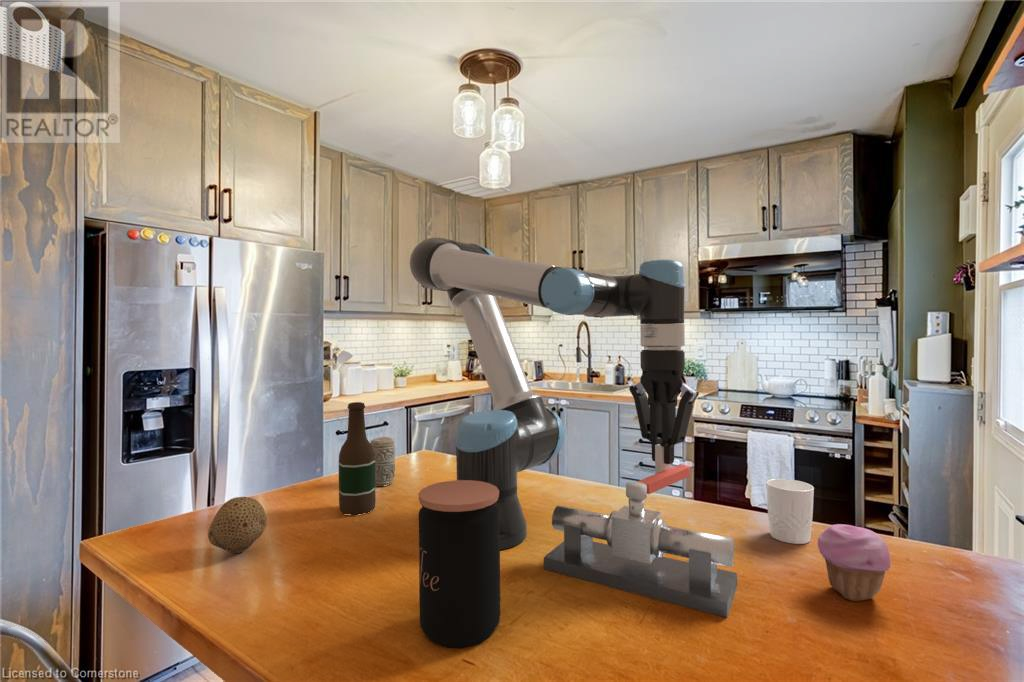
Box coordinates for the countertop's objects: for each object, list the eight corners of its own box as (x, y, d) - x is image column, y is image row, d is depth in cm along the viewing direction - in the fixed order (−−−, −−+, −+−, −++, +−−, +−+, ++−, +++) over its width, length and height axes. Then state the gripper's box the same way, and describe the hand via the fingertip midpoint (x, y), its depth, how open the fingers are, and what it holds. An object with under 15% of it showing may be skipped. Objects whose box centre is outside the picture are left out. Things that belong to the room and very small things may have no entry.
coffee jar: (423, 607, 71) (422, 481, 71) (498, 602, 72) (497, 478, 72) (415, 654, 60) (413, 506, 60) (503, 649, 61) (501, 503, 61)
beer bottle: (382, 508, 112) (381, 402, 112) (355, 519, 106) (354, 406, 106) (359, 502, 117) (358, 399, 116) (331, 512, 110) (330, 403, 110)
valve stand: (544, 569, 82) (543, 493, 82) (569, 547, 91) (569, 478, 91) (727, 617, 68) (726, 525, 68) (737, 586, 76) (736, 504, 76)
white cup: (821, 547, 90) (821, 492, 90) (773, 544, 91) (773, 489, 91) (804, 530, 97) (804, 479, 97) (761, 527, 99) (761, 477, 99)
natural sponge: (275, 552, 90) (274, 497, 90) (220, 569, 83) (219, 510, 83) (256, 538, 96) (255, 487, 96) (203, 553, 89) (203, 498, 89)
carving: (382, 489, 126) (382, 442, 126) (362, 485, 130) (362, 439, 130) (401, 483, 131) (400, 438, 131) (381, 479, 136) (380, 435, 136)
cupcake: (806, 579, 78) (806, 515, 78) (863, 579, 78) (863, 515, 78) (842, 610, 69) (842, 538, 69) (906, 611, 69) (906, 539, 69)
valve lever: (640, 500, 77) (639, 489, 77) (622, 496, 79) (622, 485, 79) (694, 476, 90) (694, 466, 90) (677, 472, 92) (677, 463, 92)
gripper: (619, 348, 91) (620, 477, 91) (683, 349, 81) (683, 494, 81) (644, 347, 96) (645, 469, 96) (707, 348, 86) (707, 484, 86)
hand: (663, 480), depth 89 cm, fingers closed
